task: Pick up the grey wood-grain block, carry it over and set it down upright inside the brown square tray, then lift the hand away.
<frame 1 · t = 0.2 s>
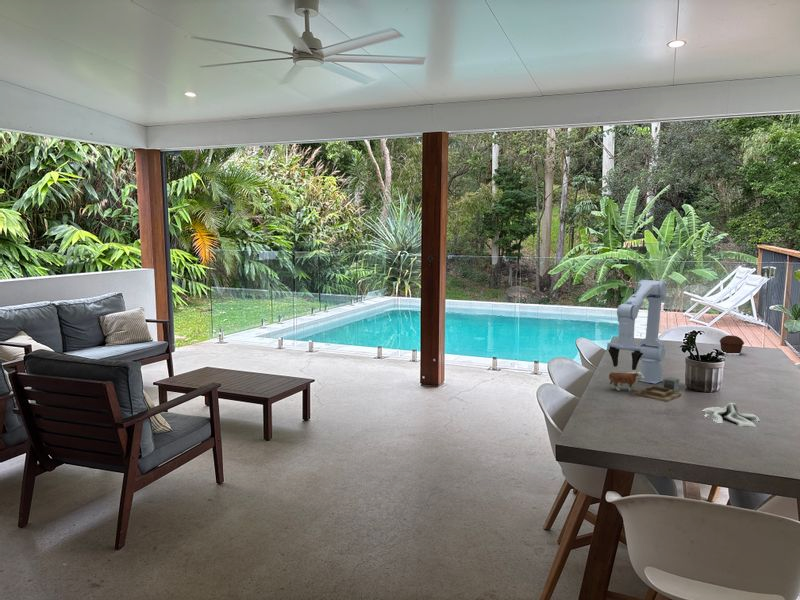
hand: (624, 367, 229), 10 cm above the table, tool pointing down, fingers open, 7 cm apart
bull figurine: (625, 390, 233), on the table
cloth: (728, 420, 197), on the table
brown square tray: (657, 395, 226), on the table
muffin: (730, 354, 311), on the table
grey wood-grain block: (671, 391, 233), on the table
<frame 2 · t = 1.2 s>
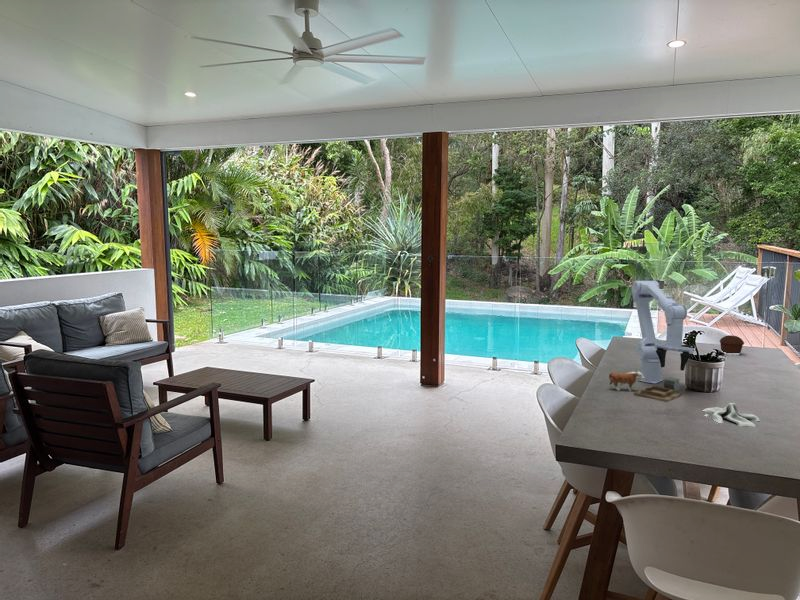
hand: (672, 368, 232), 9 cm above the table, tool pointing down, fingers open, 7 cm apart
nothing on the table moved.
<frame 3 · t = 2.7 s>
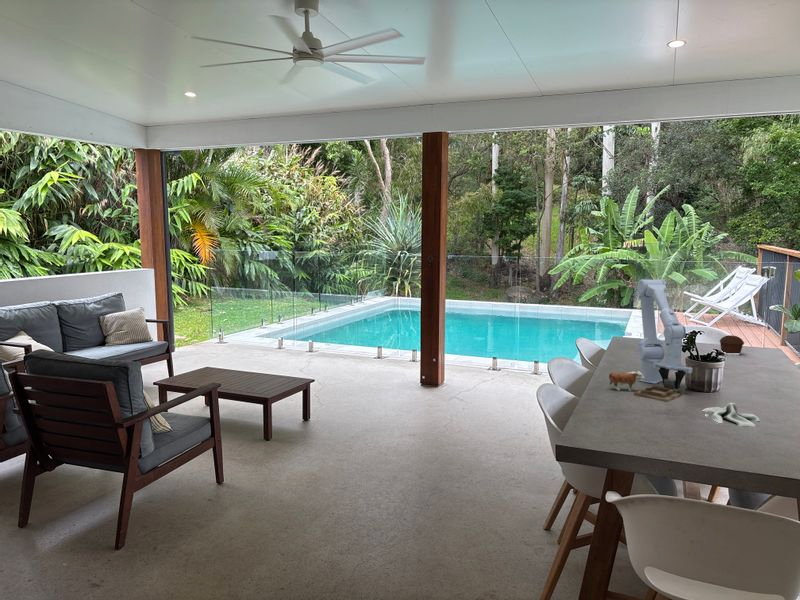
hand: (671, 387, 233), 1 cm above the table, tool pointing down, fingers closed on grey wood-grain block, 4 cm apart
grey wood-grain block: (671, 391, 233), on the table, touching gripper
everything else where it was.
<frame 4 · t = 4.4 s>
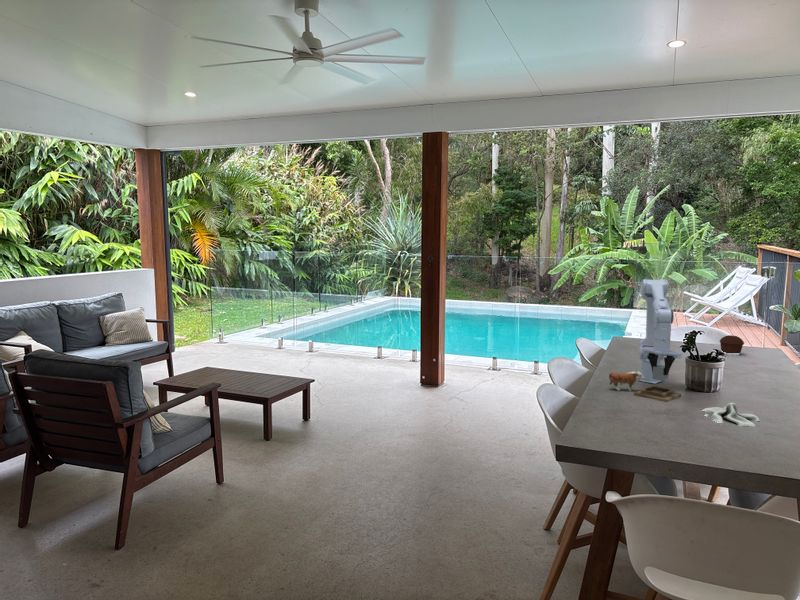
hand: (660, 373, 226), 8 cm above the table, tool pointing down, fingers closed on grey wood-grain block, 4 cm apart
grey wood-grain block: (660, 378, 226), point 6 cm above the table, touching gripper
everything else where it was.
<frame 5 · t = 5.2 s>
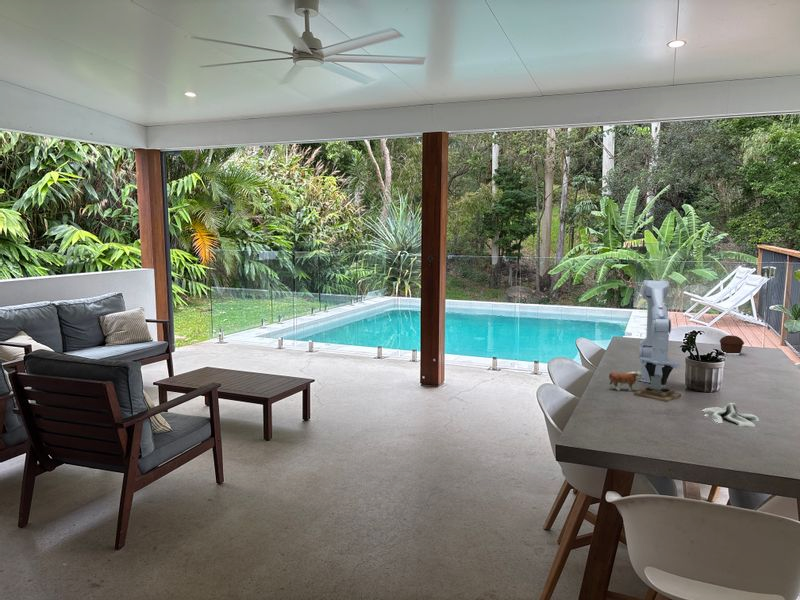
hand: (658, 383, 225), 5 cm above the table, tool pointing down, fingers closed on grey wood-grain block, 4 cm apart
grey wood-grain block: (657, 388, 226), point 3 cm above the table, touching gripper
everything else where it was.
when the fingers open (3 cm above the table, at t = 5.9 s): grey wood-grain block stays where it is, resting on brown square tray.
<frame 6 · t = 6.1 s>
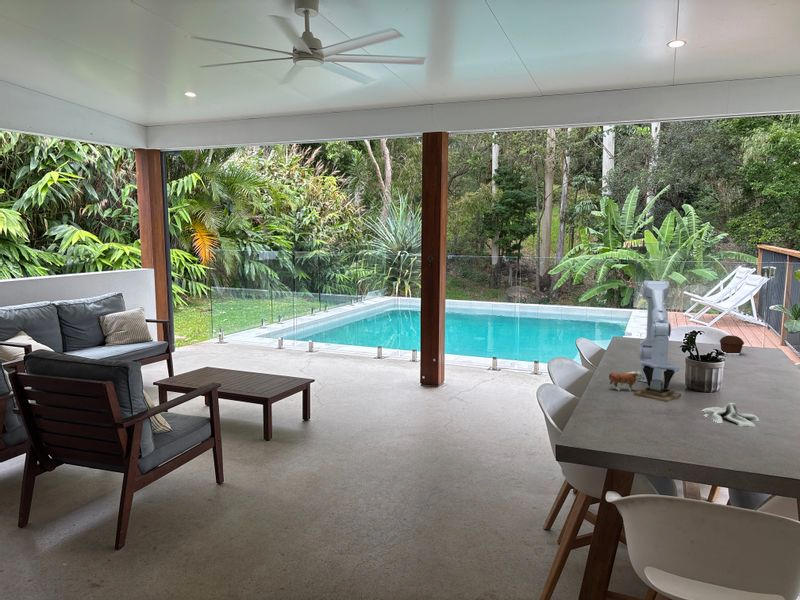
hand: (657, 386, 226), 3 cm above the table, tool pointing down, fingers open, 6 cm apart
grey wood-grain block: (657, 393, 226), point 1 cm above the table, touching brown square tray
everything else where it was.
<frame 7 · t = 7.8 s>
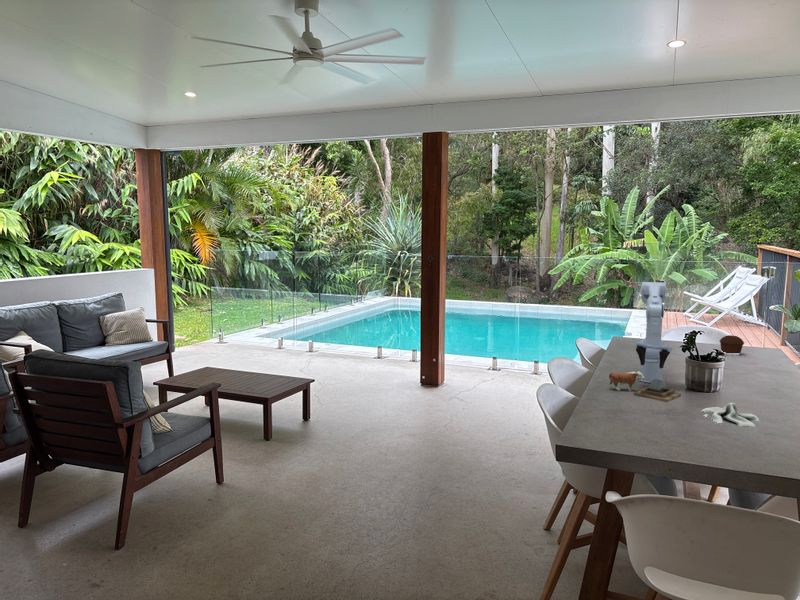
hand: (651, 366, 235), 9 cm above the table, tool pointing down, fingers open, 7 cm apart
nothing on the table moved.
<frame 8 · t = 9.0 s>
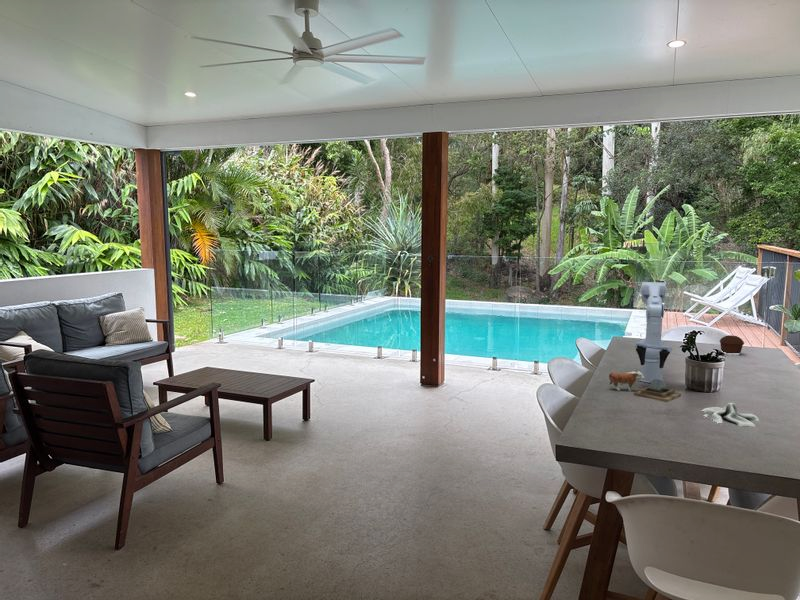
hand: (651, 366, 235), 9 cm above the table, tool pointing down, fingers open, 7 cm apart
nothing on the table moved.
at the end: grey wood-grain block 0.2 cm off-centre on the brown square tray, point 0.8 cm above the brown square tray's base; grey wood-grain block tilted 0°; the gripper is holding nothing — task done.
